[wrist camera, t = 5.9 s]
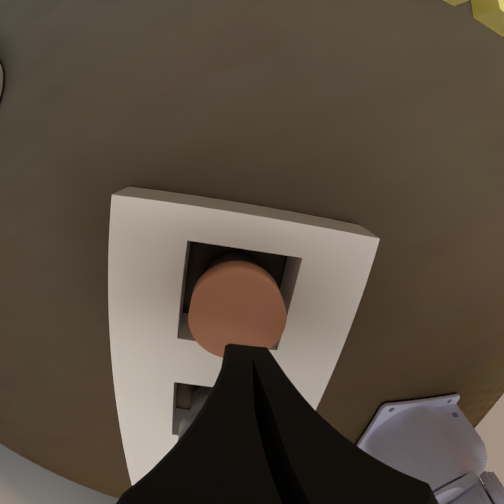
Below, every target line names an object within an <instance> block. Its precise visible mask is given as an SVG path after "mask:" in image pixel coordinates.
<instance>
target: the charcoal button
mask: <svg viewBox="0 0 504 504" xmlns="http://www.w3.org/2000/svg"><path fill="white" fill-rule="evenodd" d="M212 388H213V387H207V386H202V387H200V388H198V389H197V390H195V391H194V392H193V394H192V396H191V403H190V414H189V415H187V416H186V417H184V418H183V420H182V421H181V423H180V426H179V435H178V441H179V439H180V438H181V437H182V435H183V434H184V433H185V432H186V430H187V429H188V428H189V426H190V425H191V424H192V422H193V421H194V419H195V418H196V416H197V415H198V413H199V412H200V410H201V408H202V407H203V405H204V403H205V402H206V400H207V398H208V396H209V394H210V392H211V390H212Z"/></svg>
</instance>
